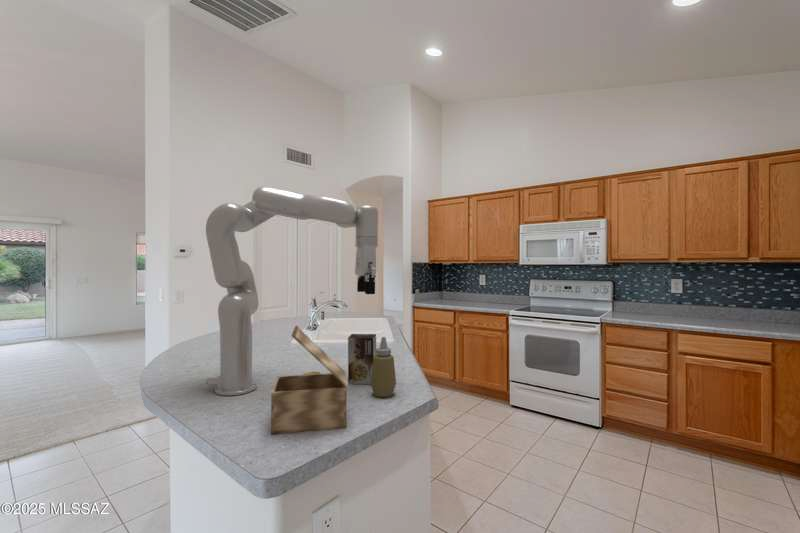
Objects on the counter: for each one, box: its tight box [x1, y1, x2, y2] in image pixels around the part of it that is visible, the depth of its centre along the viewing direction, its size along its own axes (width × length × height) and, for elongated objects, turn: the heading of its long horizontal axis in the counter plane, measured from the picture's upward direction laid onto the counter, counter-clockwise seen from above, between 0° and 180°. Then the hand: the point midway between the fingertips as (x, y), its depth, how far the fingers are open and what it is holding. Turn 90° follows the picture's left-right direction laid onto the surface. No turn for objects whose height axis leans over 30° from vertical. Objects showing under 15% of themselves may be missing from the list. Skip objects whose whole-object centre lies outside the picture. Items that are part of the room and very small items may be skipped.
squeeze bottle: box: [370, 336, 397, 398], centre depth 115 cm, size 8×8×18 cm
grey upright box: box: [347, 333, 377, 385], centre depth 128 cm, size 9×6×16 cm
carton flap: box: [291, 325, 349, 388], centre depth 97 cm, size 19×13×1 cm
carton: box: [270, 372, 348, 435], centre depth 97 cm, size 18×13×10 cm
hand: (365, 292), depth 125 cm, fingers open, 9 cm apart
